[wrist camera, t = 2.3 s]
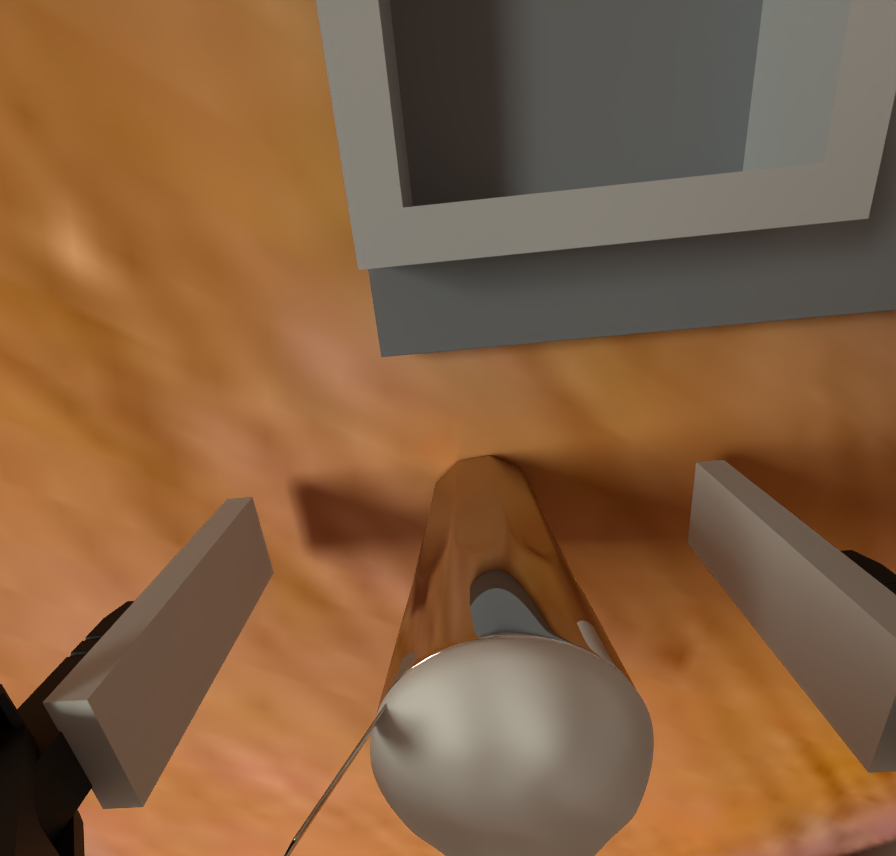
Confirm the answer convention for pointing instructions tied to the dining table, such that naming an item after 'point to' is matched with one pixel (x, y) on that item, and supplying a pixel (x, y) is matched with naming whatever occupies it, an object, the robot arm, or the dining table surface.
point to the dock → (613, 163)
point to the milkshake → (503, 688)
